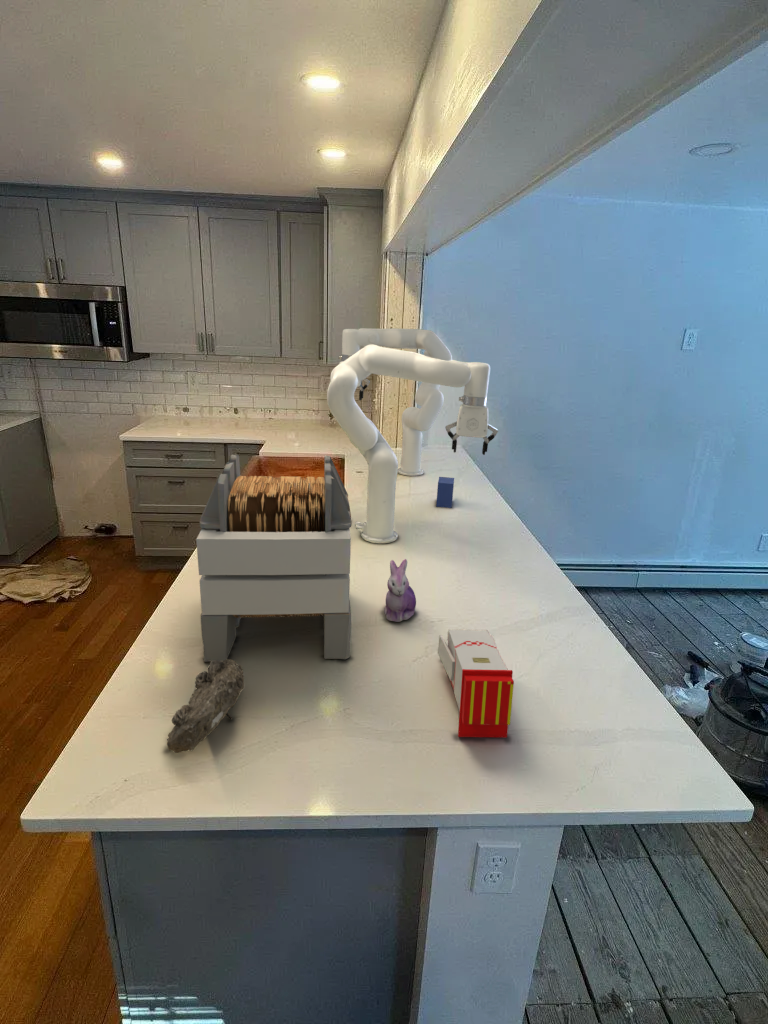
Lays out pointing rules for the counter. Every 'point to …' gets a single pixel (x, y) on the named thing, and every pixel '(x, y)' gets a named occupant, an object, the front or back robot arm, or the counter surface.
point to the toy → (478, 682)
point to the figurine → (399, 594)
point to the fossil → (206, 705)
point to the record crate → (275, 555)
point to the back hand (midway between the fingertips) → (349, 399)
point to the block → (445, 492)
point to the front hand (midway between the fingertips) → (469, 452)
